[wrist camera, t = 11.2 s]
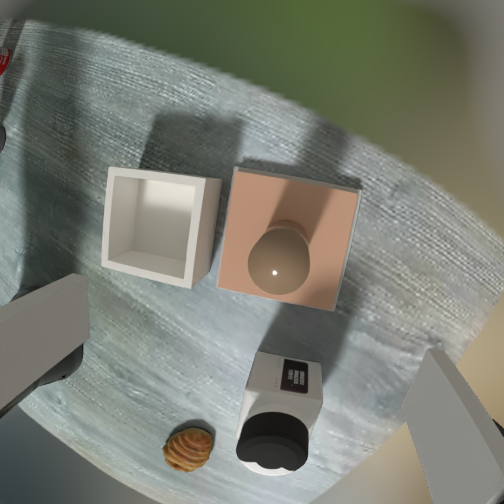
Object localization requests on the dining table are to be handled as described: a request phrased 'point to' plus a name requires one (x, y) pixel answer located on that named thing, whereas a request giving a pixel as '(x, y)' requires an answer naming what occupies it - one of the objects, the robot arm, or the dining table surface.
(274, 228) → the lid
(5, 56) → the soda can
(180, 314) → the dining table surface
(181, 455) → the pastry
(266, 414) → the container
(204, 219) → the white open box
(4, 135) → the sundae
